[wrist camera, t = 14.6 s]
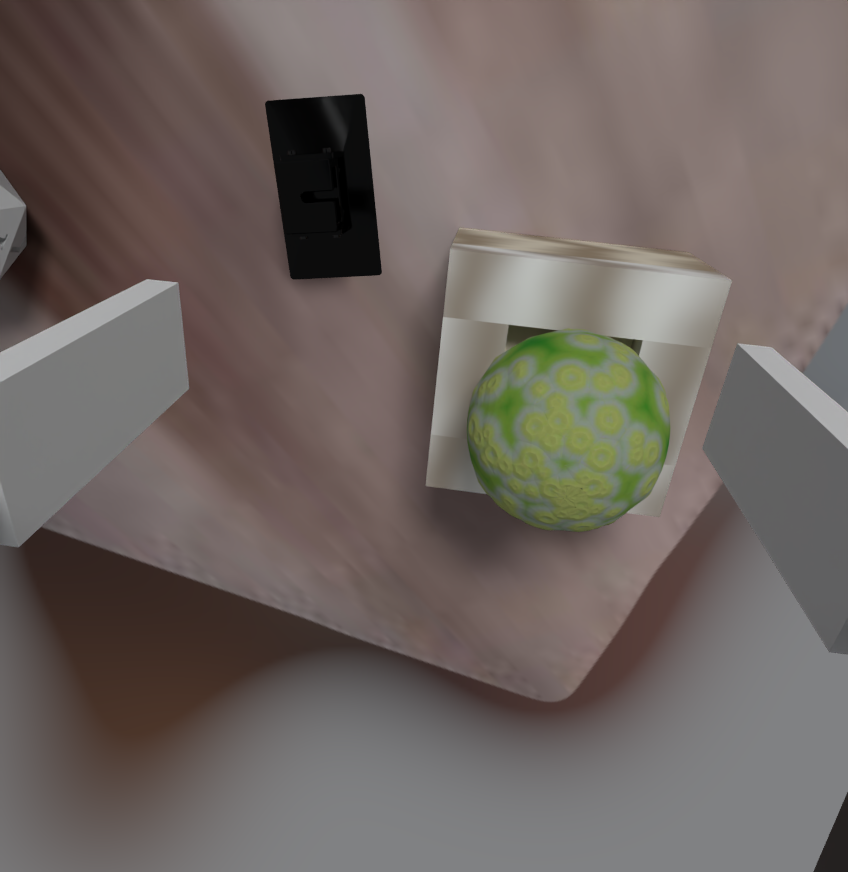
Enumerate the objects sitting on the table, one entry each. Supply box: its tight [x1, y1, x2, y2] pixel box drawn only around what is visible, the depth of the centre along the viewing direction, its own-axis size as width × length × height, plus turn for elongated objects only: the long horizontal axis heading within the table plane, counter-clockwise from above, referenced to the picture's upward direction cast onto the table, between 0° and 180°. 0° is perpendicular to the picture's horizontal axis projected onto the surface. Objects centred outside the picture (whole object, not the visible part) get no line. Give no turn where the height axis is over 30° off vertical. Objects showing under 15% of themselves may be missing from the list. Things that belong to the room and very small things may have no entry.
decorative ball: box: [467, 328, 670, 532], centre depth 31 cm, size 10×10×10 cm
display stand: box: [426, 228, 732, 517], centre depth 38 cm, size 14×14×8 cm
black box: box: [265, 94, 382, 279], centre depth 37 cm, size 13×8×5 cm, turn 4°
